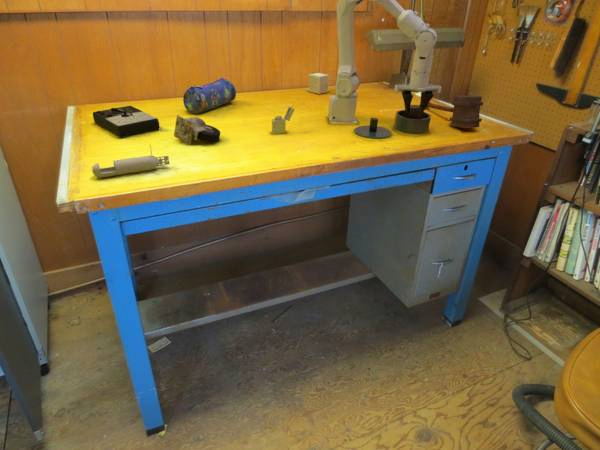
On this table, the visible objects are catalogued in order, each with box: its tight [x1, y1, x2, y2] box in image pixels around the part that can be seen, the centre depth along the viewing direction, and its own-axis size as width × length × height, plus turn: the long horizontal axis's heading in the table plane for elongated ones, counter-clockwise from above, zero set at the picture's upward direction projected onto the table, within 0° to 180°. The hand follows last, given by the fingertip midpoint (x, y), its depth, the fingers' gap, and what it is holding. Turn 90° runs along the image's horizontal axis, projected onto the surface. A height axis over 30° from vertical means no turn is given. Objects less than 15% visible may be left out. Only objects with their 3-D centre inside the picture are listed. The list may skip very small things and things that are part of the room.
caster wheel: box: [173, 114, 221, 146], centre depth 125 cm, size 7×11×10 cm
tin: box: [393, 109, 432, 135], centre depth 139 cm, size 11×11×5 cm
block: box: [405, 104, 423, 119], centre depth 138 cm, size 4×4×4 cm
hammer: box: [426, 95, 484, 129], centre depth 153 cm, size 7×33×10 cm, turn 16°
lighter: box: [271, 106, 295, 135], centre depth 133 cm, size 7×2×8 cm, turn 112°
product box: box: [308, 72, 330, 95], centre depth 180 cm, size 6×6×7 cm
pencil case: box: [182, 77, 237, 115], centre depth 153 cm, size 22×9×10 cm, turn 150°
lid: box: [353, 117, 393, 140], centre depth 135 cm, size 12×12×5 cm
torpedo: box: [91, 144, 170, 179], centre depth 103 cm, size 18×5×6 cm, turn 118°
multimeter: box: [92, 105, 160, 139], centre depth 133 cm, size 13×19×5 cm
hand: (413, 114), depth 138 cm, fingers closed on block, 4 cm apart
